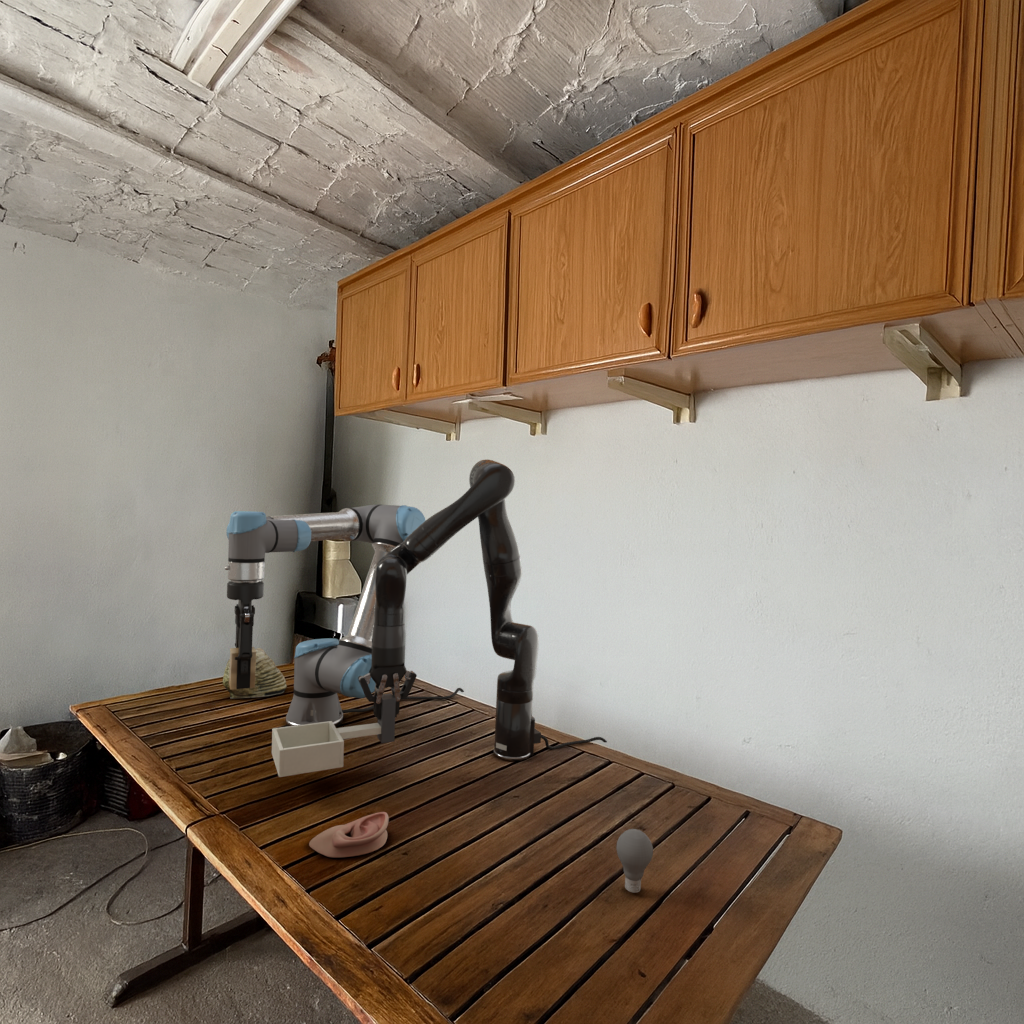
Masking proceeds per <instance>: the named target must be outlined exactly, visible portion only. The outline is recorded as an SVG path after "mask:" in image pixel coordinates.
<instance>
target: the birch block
mask: <svg viewBox="0 0 1024 1024" xmlns="http://www.w3.org/2000/svg"><path fill="white" fill-rule="evenodd" d="M255 649H256V648H255V646H252V658H251V671H250V688H255V671H256V650H255ZM238 653H239V648H236V647H230V648H229V659H230V667H229V686H230V690H234V689H236V683H237V660H235V657H238ZM244 689H245V688H244Z"/></svg>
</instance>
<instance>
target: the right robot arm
mask: <svg viewBox="0 0 1024 1024" xmlns="http://www.w3.org/2000/svg"><path fill="white" fill-rule="evenodd" d="M468 479H469V480H468V482H469V488H468V490H467V491H466V492H465V493H464V494H462V495H461V496H460V497H459V498H458V499H456V500H455V501H454V502H453V503H451V504H450V505H447V506H446V507H444V508H442V509H441V510H439V511H438V512H436V513H434V514H433V515H431V516H430V517H428V518H427V519H425V520H426V521H425V522H423V523H422V524H421V525H420V526H419V527H418V528H416V529H415V530H414V531H413V532H412V534H410V535H409V536H408V537H407V538H406V539H405V540H404V541H403V542H402V543H401V544H399V545H398V546H396V547H395V548H394V549H392V550H391V551H390V552H389V553H387V554H386V555H385V556H384V557H383V558H382V559H380V561H379V562H378V563H377V565H376V570H375V591H376V602H375V607H374V627H373V633H372V662H371V669H370V670H369V673H368V674H366V675H364V676H359V677H358V680H359V683H360V685H361V687H362V689H363V692H364V694H365V696H366V697H365V698H366V700H367V701H368V702H369V703H373V705H374V709H373V716H374V717H375V718H376V719H377V721H378V720H379V719H381V710H382V704H381V700H382V695H383V694H385V689H386V688H390V690H391V694H392V695H393V696H394V697H395V698H396V707H395V718H397V717H398V716H399V714H400V703H401V701H402V700H401V699H403V698H407V697H408V696H409V695H410V692H411V690H412V689H413V685H414V684H415V681H416V679H417V673H415V671H413V670H409V669H407V667H406V665H405V664H406V663H405V662H406V636H407V635H406V634H407V633H406V603H405V602H406V601H405V600H406V591H407V579H408V578H407V577H408V574H410V573H411V572H412V571H413V570H414V569H415V568H416V567H417V566H419V564H421V563H424V562H425V561H427V560H428V559H430V558H431V557H432V556H433V555H434V554H435V553H436V552H437V551H438V550H440V548H442V547H443V546H444V545H445V544H446V543H447V542H448V541H450V540H451V539H452V538H453V537H454V536H455V535H457V533H459V532H460V531H462V530H463V529H464V528H465V527H466V526H468V525H469V524H471V523H472V522H473V521H474V520H476V519H478V528H479V538H480V547H481V555H482V564H483V570H484V576H485V581H486V587H487V595H488V603H489V615H490V616H489V620H490V638H491V644H492V649H493V652H494V654H496V655H497V657H500V658H502V659H503V658H504V659H508V660H511V661H513V669H511V670H506V671H502V672H500V673H499V674H498V675H497V679H496V698H495V699H496V700H495V703H496V704H495V721H494V722H495V723H494V743H493V755H494V756H495V757H496V758H498V759H500V760H503V761H510V762H518V761H525V760H527V759H528V758H530V757H532V756H534V751H535V745H536V744H541V743H542V740H543V741H544V743H545V747H546V749H548V750H552V751H553V750H558V749H561V748H564V747H567V746H574V745H580V744H588V743H591V742H595V741H601V742H603V743H608V741H607V740H606V739H605V738H604V737H602V736H595V737H591V738H588V739H580V740H573V741H567V742H563V743H560V744H557V745H556V746H551V745H550V744H549V739H548V738H547V736H545V735H543V734H542V732H541V731H539V730H538V729H536V718H535V717H534V716H533V703H534V702H533V701H534V684H535V683H534V682H535V679H536V674H537V668H538V657H539V648H540V638H539V633H538V630H537V629H536V628H535V627H534V626H533V625H529V624H524V623H519V622H514V621H513V616H512V601H513V598H514V595H515V593H516V591H517V589H518V587H519V585H520V583H521V581H522V577H523V568H522V567H523V566H522V560H521V552H520V546H519V543H518V540H517V538H516V535H515V532H514V530H513V528H512V524H511V522H510V519H509V516H508V513H507V506H506V499H507V498H508V497H509V496H510V495H511V494H512V492H513V491H514V488H515V484H516V480H515V475H514V473H513V471H512V469H510V468H509V466H507V465H505V464H503V463H501V462H499V461H496V460H492V459H481V460H479V461H477V462H476V463H475V464H474V465H473V467H472V468H471V470H470V473H469V478H468ZM370 678H372V679H373V680H374V682H375V683H376V684H375V691H374V692H373V693H374V694H373V693H371V691H370V689H369V686H368V684H369V683H370ZM403 678H404V679H405V680H404V683H403V684H402V686H401V688H400V682H401V681H402V680H403Z"/></svg>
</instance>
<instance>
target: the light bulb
mask: <svg viewBox="0 0 1024 1024" xmlns="http://www.w3.org/2000/svg"><path fill="white" fill-rule="evenodd" d="M615 849H616V854H617V857H618V859H619V861H620V863H621V865H622V867H623V873H624V874H623V875H624V876H625V878H624V888H625V890H627V891H628V892H630V893H634V894H635V893H639V892H640V891H641V889H642V887H641V886H642V879H643V877H644V875H645V871H646V868H647V867H648V866H649V864H650V863H651V861H652V859H653V855H654V847H653V843H652V841H651V838H649V836H648V835H647V834H646V833H645V832H643V831H642V830H641V829H636V828H629V829H627V830H625V831H623V832H622V833H621V834H620V835H619V837H618V839H617V841H616V847H615Z"/></svg>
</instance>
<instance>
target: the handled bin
mask: <svg viewBox="0 0 1024 1024" xmlns="http://www.w3.org/2000/svg"><path fill="white" fill-rule="evenodd" d="M381 704H382V710H381V719H379V720H378V719H377V722H373V723H366V724H357V725H349V726H344V727H343V726H342V727H335V725H334V724H333V722H332V721H327V722H319V723H312V724H304V725H296V726H288V727H287V726H281V727H280V726H279V727H273V728H272V729H271V731H272V732H271V755H272V758H273V762H274V765H275V768H276V769H275V770H276V772H277V776H278V778H283V777H289V776H296V775H300V774H301V775H302V774H308V773H309V774H310V773H315V772H321V771H327V770H331V769H332V770H334V769H340V768H344V759H345V758H344V754H345V753H344V752H345V740H349V739H355V738H363V737H368V736H376V738H377V739H378V740H379V742H380V743H381V744H386V743H393V742H395V739H396V738H395V736H396V717H395V707H396V698H395V697H394V696H393V695H392V692H390V693H383V695H382V700H381Z"/></svg>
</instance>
